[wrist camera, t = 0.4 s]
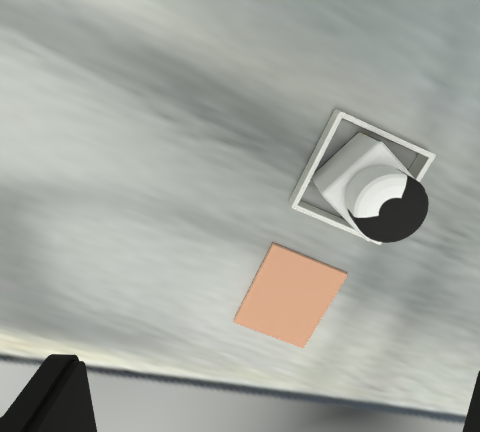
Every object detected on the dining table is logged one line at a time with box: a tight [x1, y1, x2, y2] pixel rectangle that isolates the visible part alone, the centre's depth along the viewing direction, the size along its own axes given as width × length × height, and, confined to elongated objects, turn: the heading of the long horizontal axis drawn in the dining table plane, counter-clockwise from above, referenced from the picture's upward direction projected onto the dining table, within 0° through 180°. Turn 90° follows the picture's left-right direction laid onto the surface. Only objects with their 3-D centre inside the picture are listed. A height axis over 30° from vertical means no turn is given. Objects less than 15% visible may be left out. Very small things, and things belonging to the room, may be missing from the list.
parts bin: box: [289, 109, 436, 245], centre depth 40 cm, size 11×11×2 cm
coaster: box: [234, 242, 348, 348], centre depth 46 cm, size 12×10×1 cm
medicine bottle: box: [312, 132, 428, 243], centre depth 35 cm, size 7×7×12 cm
